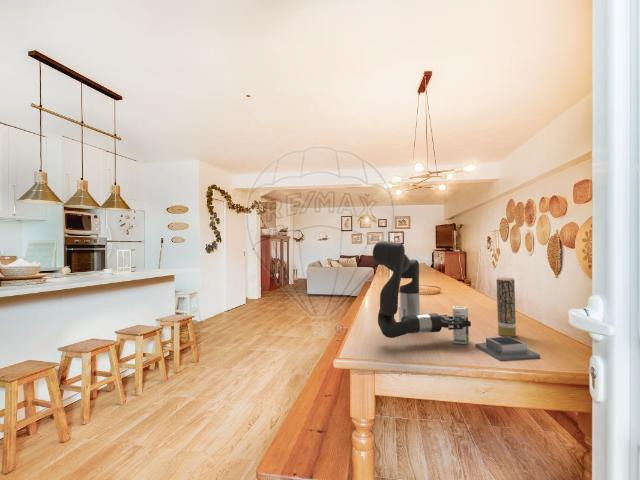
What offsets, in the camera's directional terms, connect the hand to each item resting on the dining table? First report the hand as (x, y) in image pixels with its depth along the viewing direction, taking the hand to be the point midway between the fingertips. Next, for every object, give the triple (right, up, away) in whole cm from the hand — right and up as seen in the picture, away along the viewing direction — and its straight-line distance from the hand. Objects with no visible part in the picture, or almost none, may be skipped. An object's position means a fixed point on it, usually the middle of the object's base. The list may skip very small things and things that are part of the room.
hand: (464, 321), depth 133 cm
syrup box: (-2, -9, 0) cm, 9 cm away
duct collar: (+9, -8, -13) cm, 18 cm away
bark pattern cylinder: (+22, -8, +7) cm, 24 cm away
